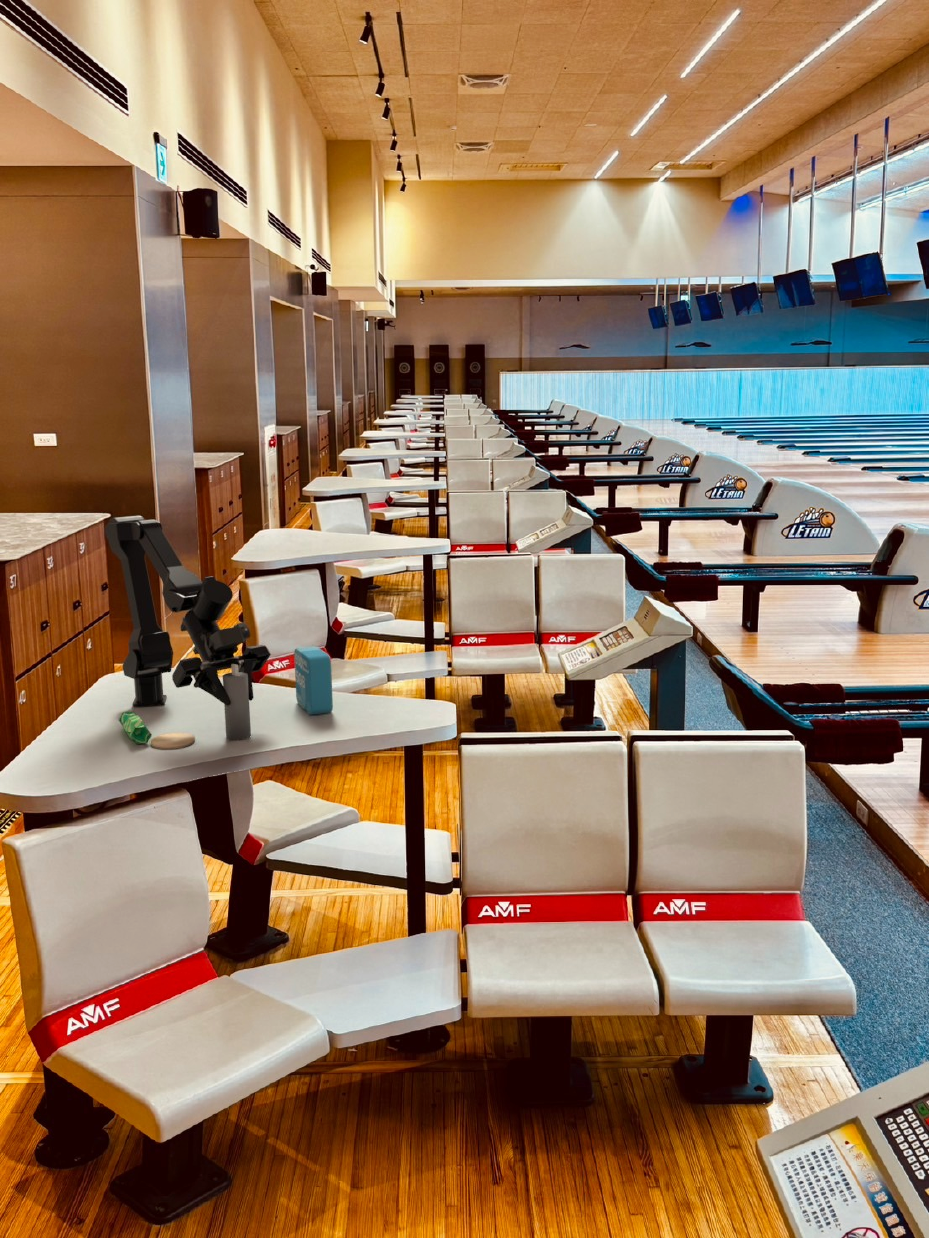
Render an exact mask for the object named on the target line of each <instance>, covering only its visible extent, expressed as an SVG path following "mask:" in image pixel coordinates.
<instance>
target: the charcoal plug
mask: <svg viewBox="0 0 929 1238" xmlns="http://www.w3.org/2000/svg"><path fill="white" fill-rule="evenodd" d="M230 669H231V672H227V673H225V674H223V675H222V685H223V687H224V689H225V691H226V693H227V695H228V697H229V699H230V702H231V703H230V705H229V706H227V705H225V704H224V703H223V706H224V707H223V708H224V720H225V721H224V722H225V738H226V739H227V740H229V741H243V740H247V738H248V739H250V738H251V737H250V736H252V731H251V729H252V728H251V727H252V726H251V712H250V711H251V710H250V700H249V690H248V674H247V673H243V672H238V665H236V664H231V668H230ZM249 737H250V738H249Z"/></svg>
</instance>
